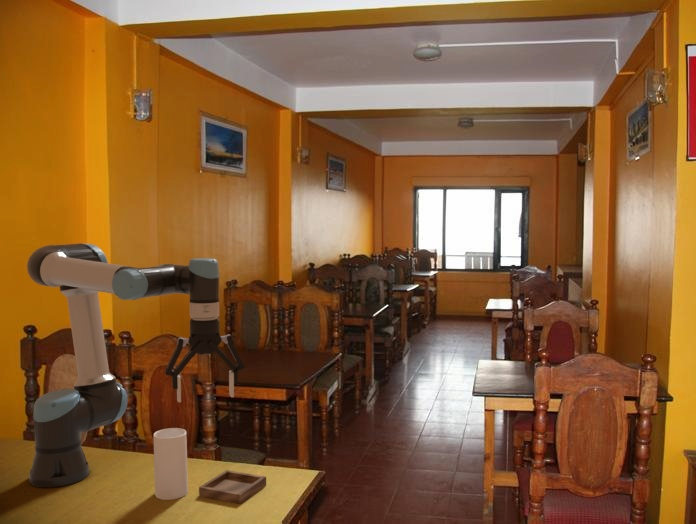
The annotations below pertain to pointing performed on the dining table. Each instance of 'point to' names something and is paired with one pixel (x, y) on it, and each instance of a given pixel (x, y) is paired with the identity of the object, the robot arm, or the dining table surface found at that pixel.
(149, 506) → the dining table surface
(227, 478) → the square wooden tray
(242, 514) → the dining table surface
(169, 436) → the cup
